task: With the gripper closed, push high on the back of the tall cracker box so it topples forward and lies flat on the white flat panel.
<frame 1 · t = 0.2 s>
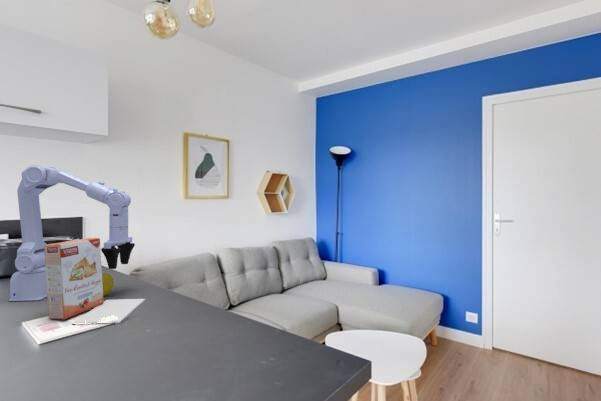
hand: (118, 266, 115), 10 cm above the kitchen counter, tool pointing down, fingers open, 7 cm apart
cracker box: (78, 311, 99), on the kitchen counter, touching white flat panel
white flat panel: (112, 311, 100), on the kitchen counter
lemon: (104, 296, 115), on the kitchen counter
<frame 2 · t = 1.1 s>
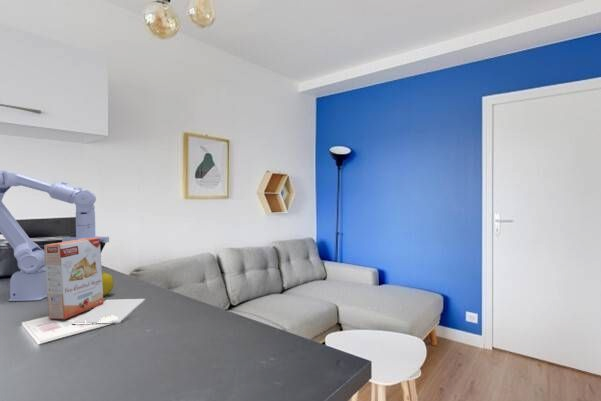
hand: (86, 263, 118), 10 cm above the kitchen counter, tool pointing down, fingers open, 6 cm apart
nothing on the kitchen counter moved.
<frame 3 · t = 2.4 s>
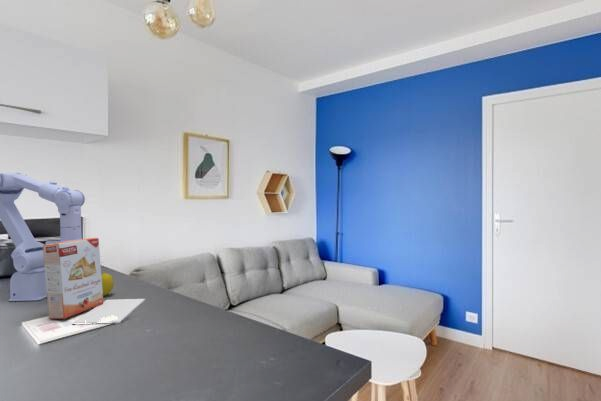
hand: (72, 268, 110), 10 cm above the kitchen counter, tool pointing down, fingers closed
nothing on the kitchen counter moved.
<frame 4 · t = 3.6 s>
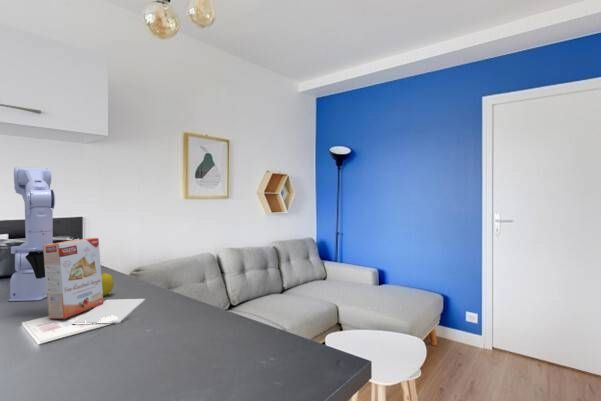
hand: (40, 277, 98), 10 cm above the kitchen counter, tool pointing down, fingers closed
nothing on the kitchen counter moved.
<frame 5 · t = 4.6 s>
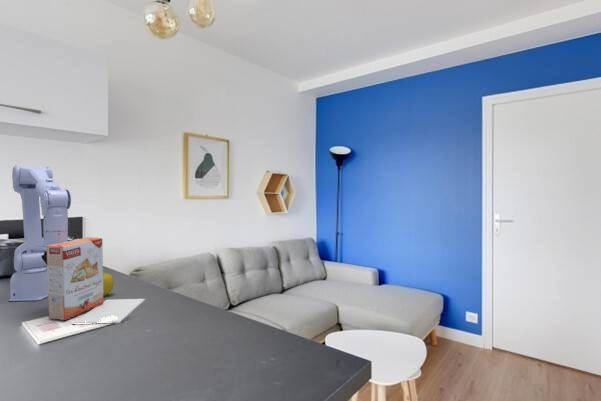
hand: (56, 277, 98), 10 cm above the kitchen counter, tool pointing down, fingers closed
cracker box: (78, 311, 99), on the kitchen counter, touching gripper, white flat panel
everything else where it was.
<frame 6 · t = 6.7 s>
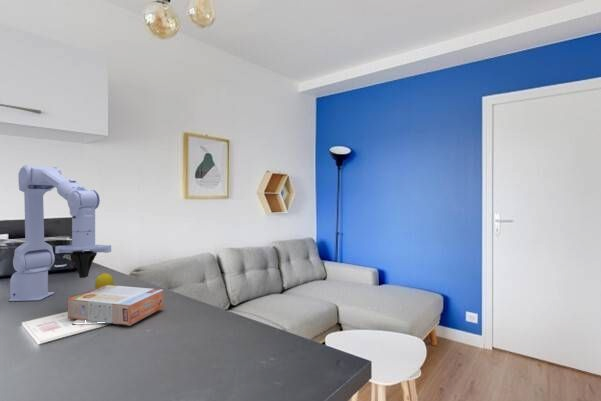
hand: (83, 277, 99), 10 cm above the kitchen counter, tool pointing down, fingers closed
cracker box: (88, 300, 99), point 3 cm above the kitchen counter, touching white flat panel
everything else where it was.
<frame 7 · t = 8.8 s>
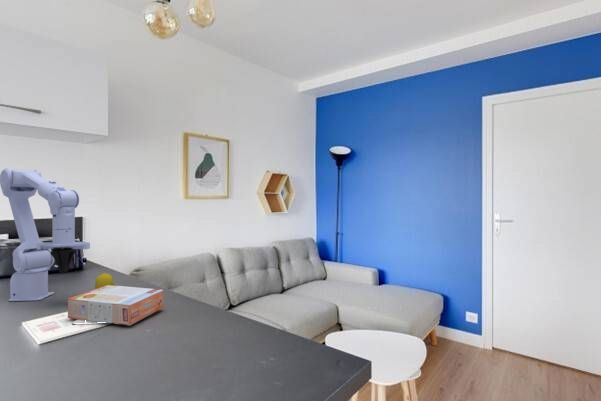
hand: (63, 272, 105), 10 cm above the kitchen counter, tool pointing down, fingers closed
nothing on the kitchen counter moved.
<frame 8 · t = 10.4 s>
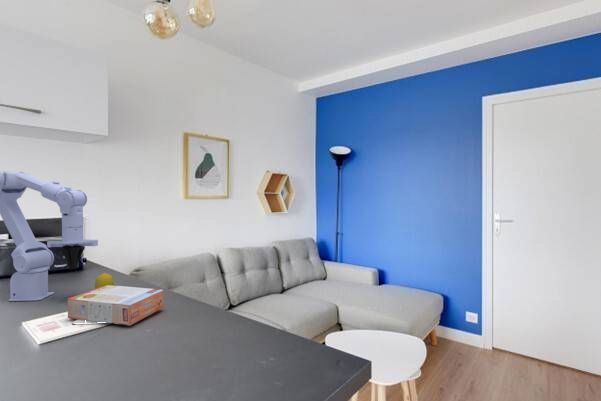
hand: (73, 268, 110), 10 cm above the kitchen counter, tool pointing down, fingers closed
nothing on the kitchen counter moved.
at the end: cracker box tilted 89°; cracker box touching white flat panel; cracker box inside the target area (1.5 cm from its centre), point 3.3 cm above the kitchen counter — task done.
